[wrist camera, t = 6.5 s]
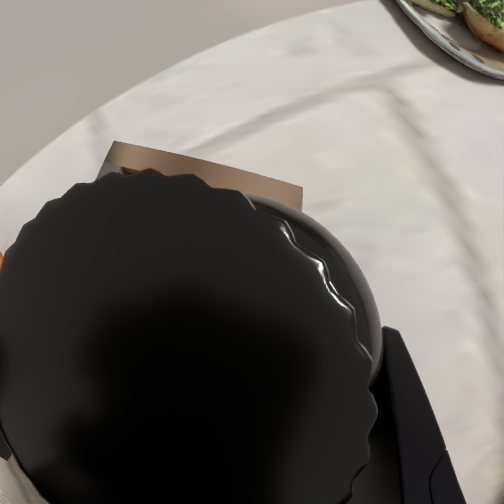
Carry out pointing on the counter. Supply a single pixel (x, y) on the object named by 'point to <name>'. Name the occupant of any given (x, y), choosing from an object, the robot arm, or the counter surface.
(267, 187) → the corner bracket
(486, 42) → the salad plate
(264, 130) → the counter surface
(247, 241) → the supplement bottle
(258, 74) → the counter surface
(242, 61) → the counter surface
